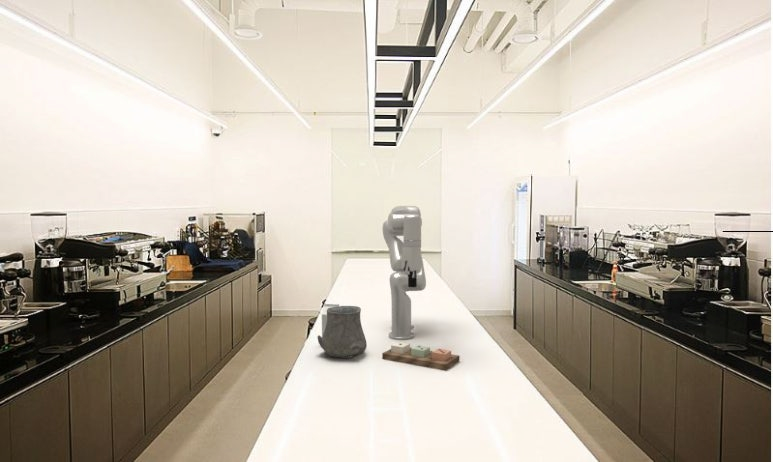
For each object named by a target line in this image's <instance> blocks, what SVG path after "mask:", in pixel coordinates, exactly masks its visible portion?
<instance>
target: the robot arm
mask: <svg viewBox="0 0 773 462" xmlns="http://www.w3.org/2000/svg"><path fill="white" fill-rule="evenodd" d="M421 216H422V215H421V210H420V208H419V207H418V206H416V205H397V206H394V207H393V208H392V209H391V211H390V212H389V214H388V216H387V220H386V221H383V223H382V236H383V239H384V240H385V241H384V242H385V244H386V245H387V248H388V255H389V263H390V268H391V270H392V271H393V273H391V274H390V276H389V287H390V294H391V331H390V332H389V333H388V337H389V339H393V340H399V341H400V340H401V341H402V340H404V341H405V340H410V339H413V338H414V337H415V333H414V332H413V330H414V329H415V325H414V324H412V300H411V297H410V296H409V295H408V294H407V292H420V291H424V290H425V289H426V285H427V279H426V273H425V267H424V261H423V258H422V249H421V248H422V225H423V220H422V217H421ZM399 237H403V241H402V240H401V239H400V238H399Z"/></svg>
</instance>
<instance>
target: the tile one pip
mask: <svg viewBox="0 0 773 462" xmlns="http://www.w3.org/2000/svg"><path fill="white" fill-rule="evenodd" d="M410 348H411V344H410V343H406V342H401V341H397V342H395V343H394V344H393V343H392V344H391V345H390V349H391V352H393V353H399V354H405V353H407V352H409V351H410Z"/></svg>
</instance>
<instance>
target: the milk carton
mask: <svg viewBox="0 0 773 462" xmlns="http://www.w3.org/2000/svg"><path fill="white" fill-rule="evenodd" d="M337 306H340V304H338V303H334V304H333V303H324V304H323V309H322V312H321V337H322V336H323V334H324V331H325V327H326V323H327V309H328V308H331V307H337Z"/></svg>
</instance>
